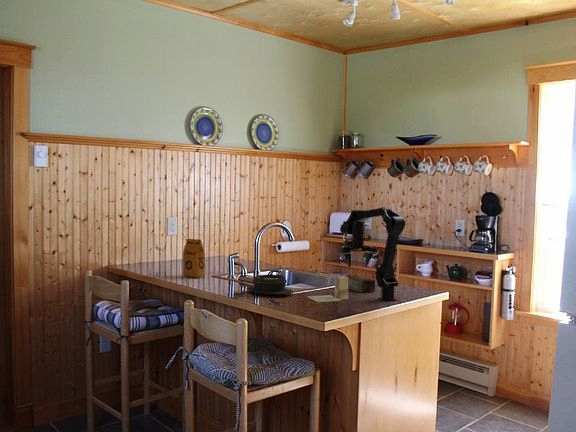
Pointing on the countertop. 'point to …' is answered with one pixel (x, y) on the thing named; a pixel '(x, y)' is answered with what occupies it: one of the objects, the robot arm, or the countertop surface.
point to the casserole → (269, 285)
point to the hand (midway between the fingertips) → (357, 266)
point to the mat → (323, 298)
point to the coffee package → (193, 258)
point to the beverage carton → (361, 284)
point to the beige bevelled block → (341, 287)
